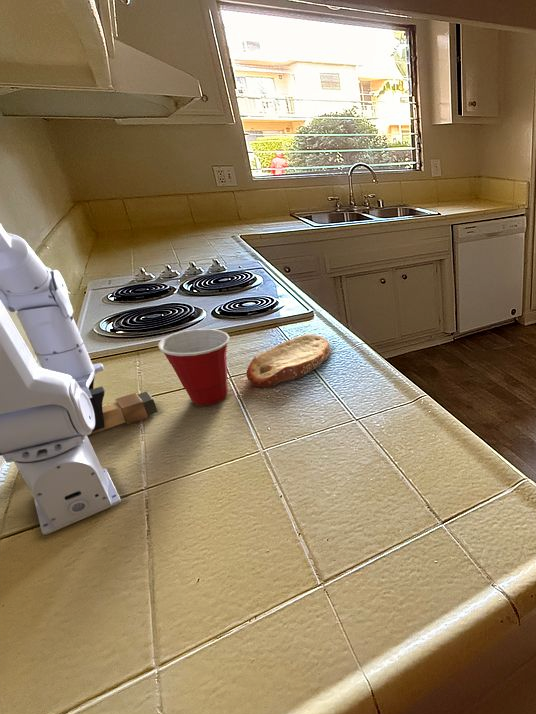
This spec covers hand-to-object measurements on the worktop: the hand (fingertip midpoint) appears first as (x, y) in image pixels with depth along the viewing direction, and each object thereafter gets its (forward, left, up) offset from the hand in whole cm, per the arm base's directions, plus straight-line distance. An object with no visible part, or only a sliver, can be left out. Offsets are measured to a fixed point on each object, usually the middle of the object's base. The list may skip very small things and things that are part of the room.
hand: (92, 422), depth 76 cm
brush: (0, -2, -1) cm, 3 cm away
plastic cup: (-3, -17, -2) cm, 17 cm away
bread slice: (0, -34, -2) cm, 34 cm away
